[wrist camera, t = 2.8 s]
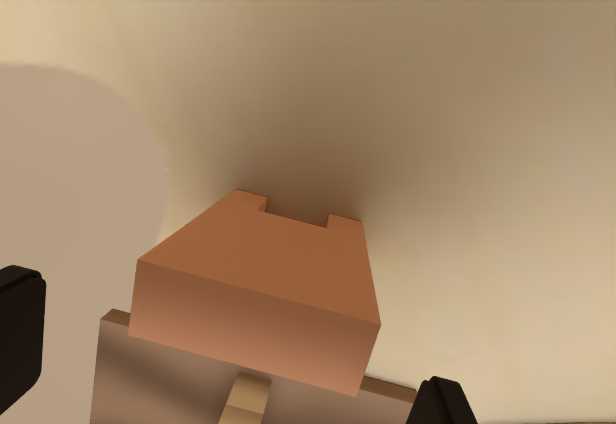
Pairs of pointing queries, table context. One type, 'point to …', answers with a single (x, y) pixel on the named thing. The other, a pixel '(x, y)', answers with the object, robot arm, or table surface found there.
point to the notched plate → (262, 293)
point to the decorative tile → (587, 423)
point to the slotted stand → (219, 389)
